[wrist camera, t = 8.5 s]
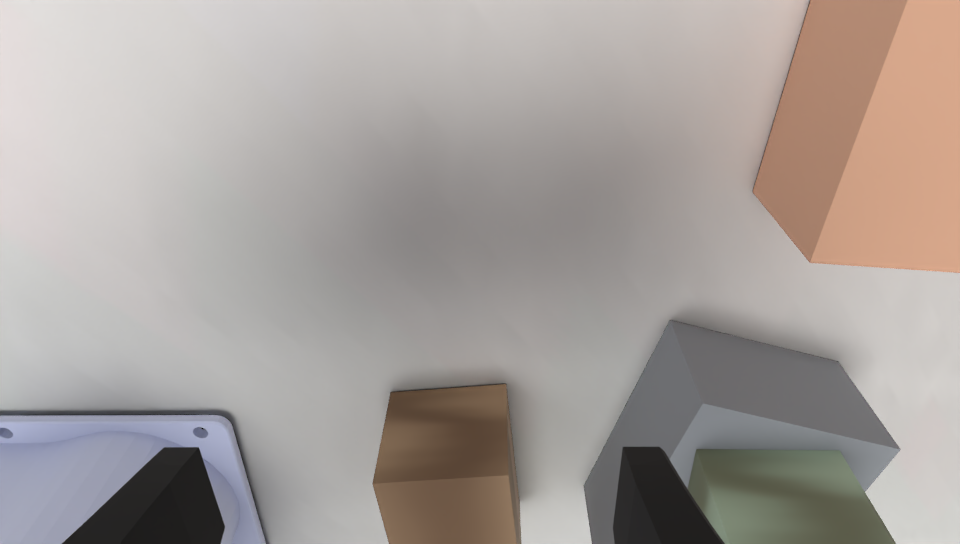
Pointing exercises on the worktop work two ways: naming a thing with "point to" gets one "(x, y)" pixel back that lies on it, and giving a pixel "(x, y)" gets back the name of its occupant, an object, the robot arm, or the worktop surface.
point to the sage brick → (784, 498)
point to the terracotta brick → (870, 136)
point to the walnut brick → (448, 468)
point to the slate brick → (735, 411)
